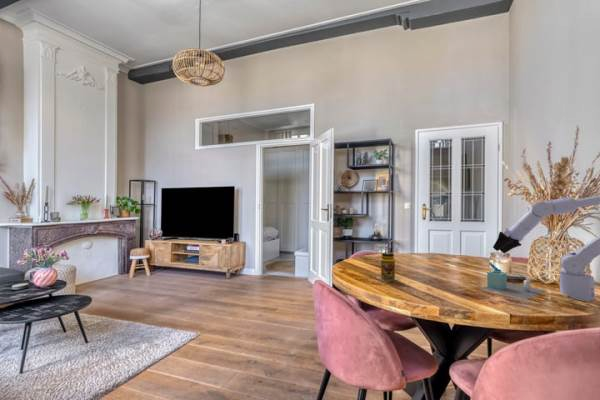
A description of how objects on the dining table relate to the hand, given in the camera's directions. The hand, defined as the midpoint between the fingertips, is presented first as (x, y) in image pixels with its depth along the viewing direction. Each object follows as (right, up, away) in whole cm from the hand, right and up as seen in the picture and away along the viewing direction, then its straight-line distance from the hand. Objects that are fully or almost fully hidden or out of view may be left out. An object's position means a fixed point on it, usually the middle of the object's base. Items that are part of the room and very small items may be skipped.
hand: (498, 250), depth 129 cm
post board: (+1, -15, -8) cm, 17 cm away
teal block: (-4, -14, -5) cm, 16 cm away
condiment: (-43, -16, +13) cm, 48 cm away
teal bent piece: (+8, -16, +13) cm, 22 cm away
